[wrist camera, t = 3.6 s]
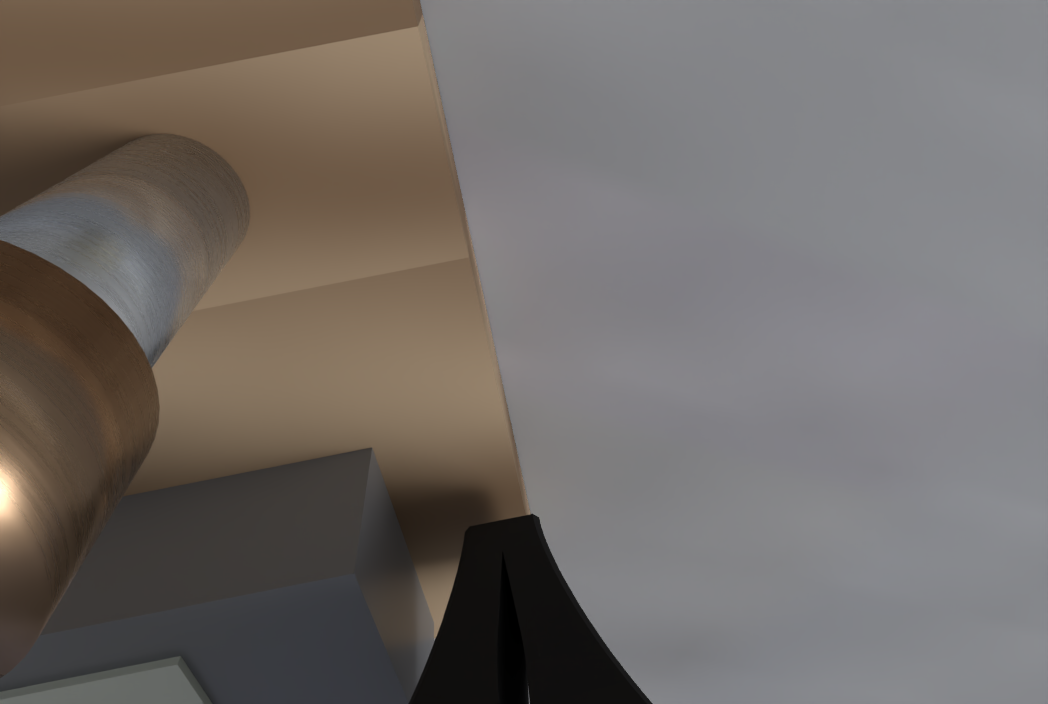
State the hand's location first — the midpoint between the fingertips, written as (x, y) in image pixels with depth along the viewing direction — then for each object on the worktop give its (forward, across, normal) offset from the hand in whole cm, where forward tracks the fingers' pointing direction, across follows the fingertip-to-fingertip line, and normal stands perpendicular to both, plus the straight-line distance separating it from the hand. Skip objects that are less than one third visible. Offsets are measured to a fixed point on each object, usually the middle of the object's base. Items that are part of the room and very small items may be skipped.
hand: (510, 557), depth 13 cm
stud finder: (+1, +6, 0) cm, 6 cm away
